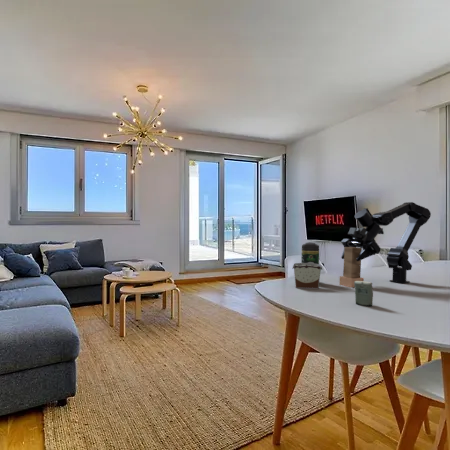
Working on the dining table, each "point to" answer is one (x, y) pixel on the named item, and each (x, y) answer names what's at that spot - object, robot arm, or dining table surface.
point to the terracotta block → (349, 281)
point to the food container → (307, 275)
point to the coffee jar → (310, 253)
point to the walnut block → (352, 262)
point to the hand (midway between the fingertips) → (349, 259)
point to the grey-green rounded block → (363, 293)
